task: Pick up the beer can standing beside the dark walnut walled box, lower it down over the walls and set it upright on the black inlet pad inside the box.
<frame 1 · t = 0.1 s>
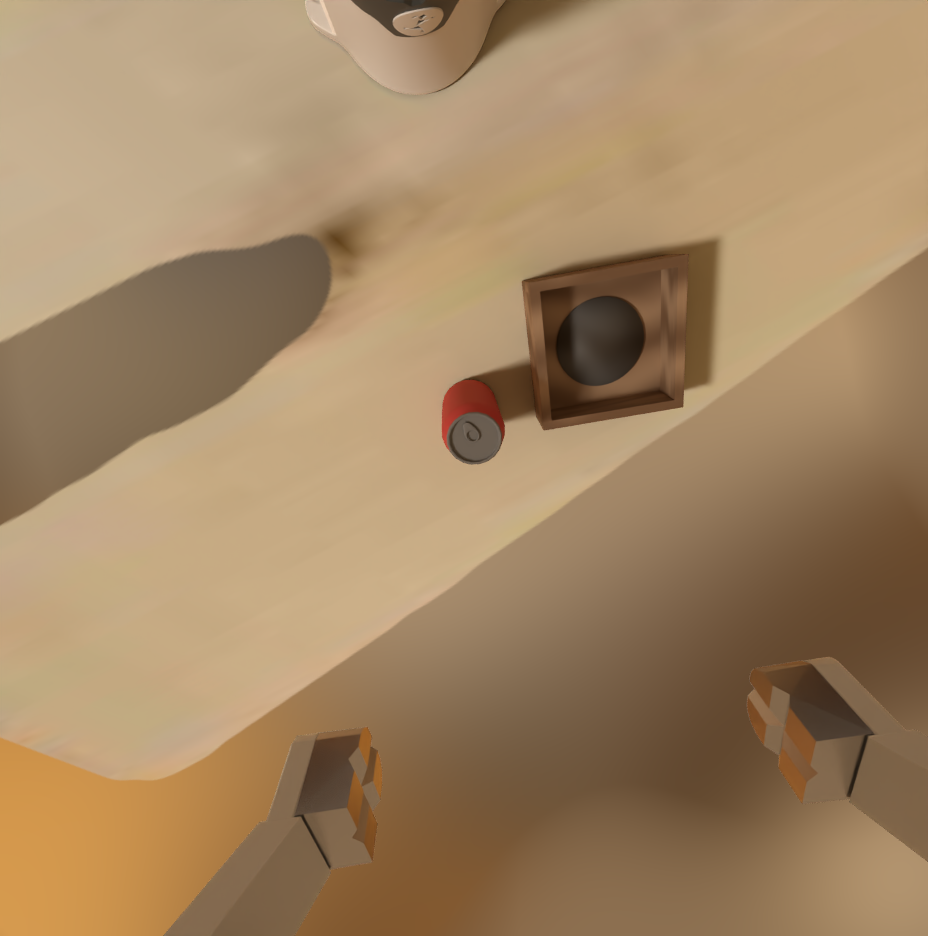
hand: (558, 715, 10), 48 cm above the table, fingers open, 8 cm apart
walnut box: (597, 341, 54), on the table
beer can: (469, 404, 57), on the table
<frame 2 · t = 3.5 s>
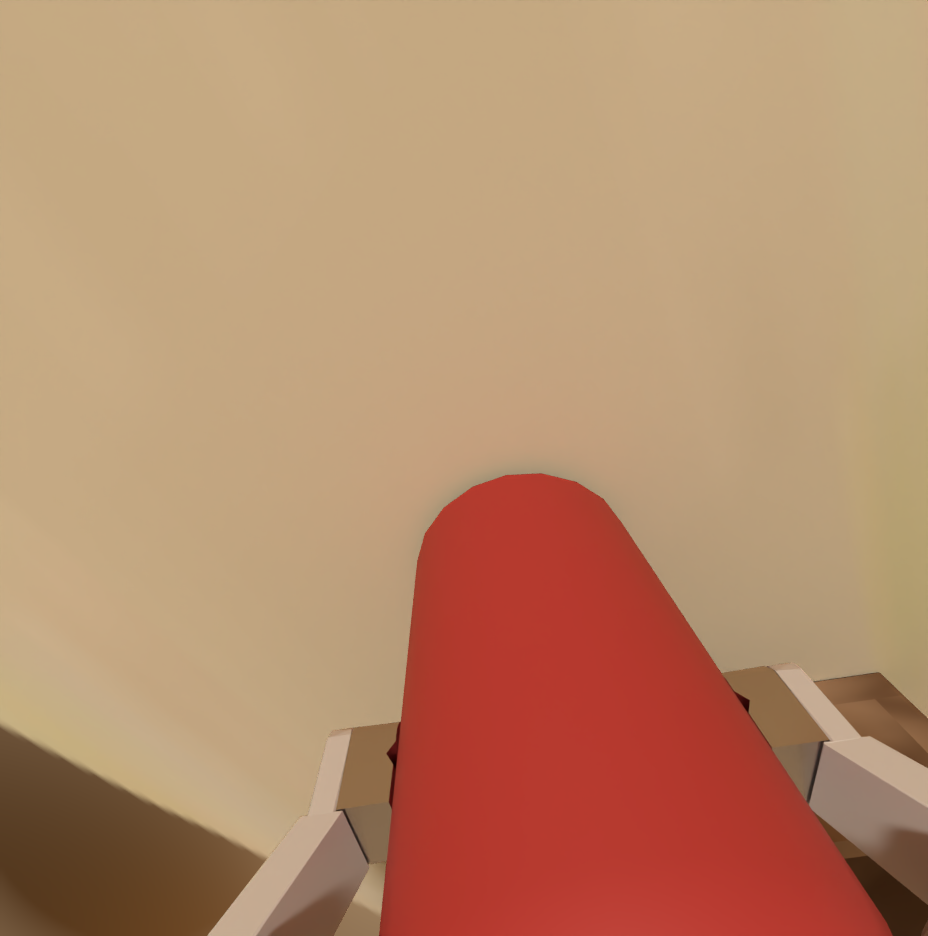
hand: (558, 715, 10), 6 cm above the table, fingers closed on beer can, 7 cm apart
walnut box: (668, 820, 21), on the table
beer can: (519, 553, 15), on the table, touching gripper
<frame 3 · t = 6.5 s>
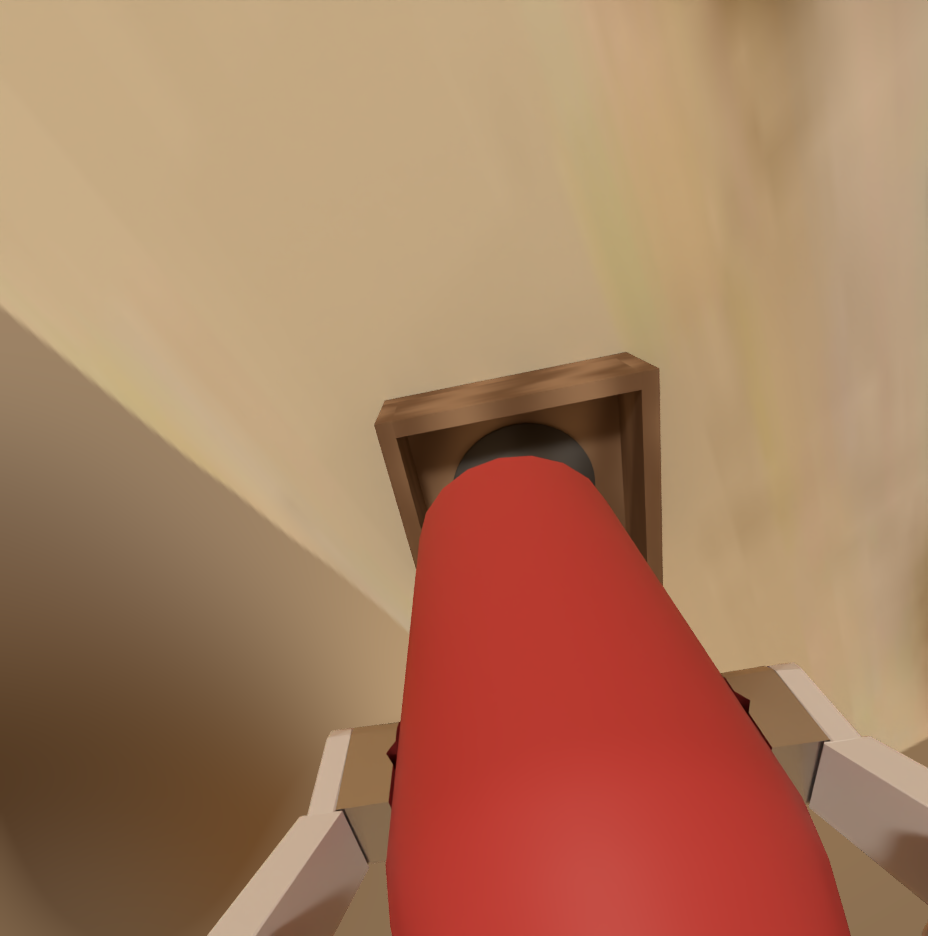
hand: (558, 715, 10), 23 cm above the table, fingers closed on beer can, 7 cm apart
walnut box: (521, 484, 33), on the table
beer can: (513, 531, 16), point 16 cm above the table, touching gripper
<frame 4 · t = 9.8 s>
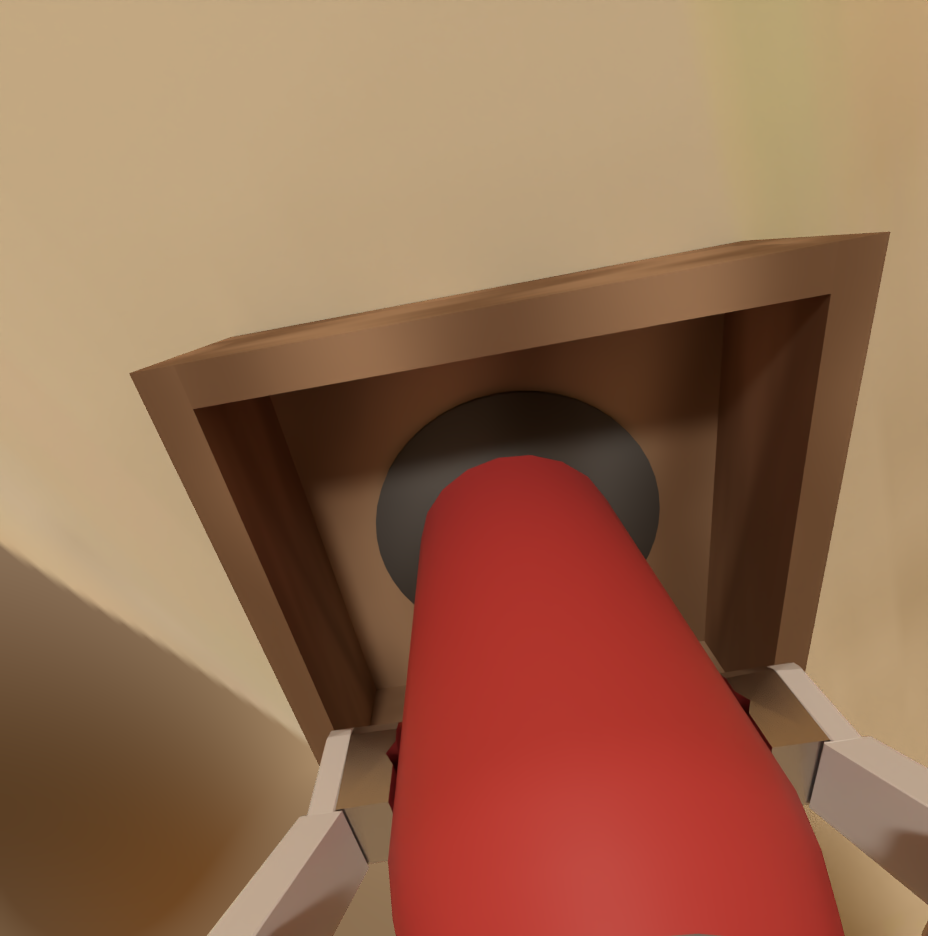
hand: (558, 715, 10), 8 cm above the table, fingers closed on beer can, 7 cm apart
walnut box: (513, 512, 17), on the table
beer can: (514, 530, 16), point 1 cm above the table, touching gripper, walnut box
when the fingers open (8 cm above the table, at t = 10.8 s): beer can stays where it is, resting on walnut box.
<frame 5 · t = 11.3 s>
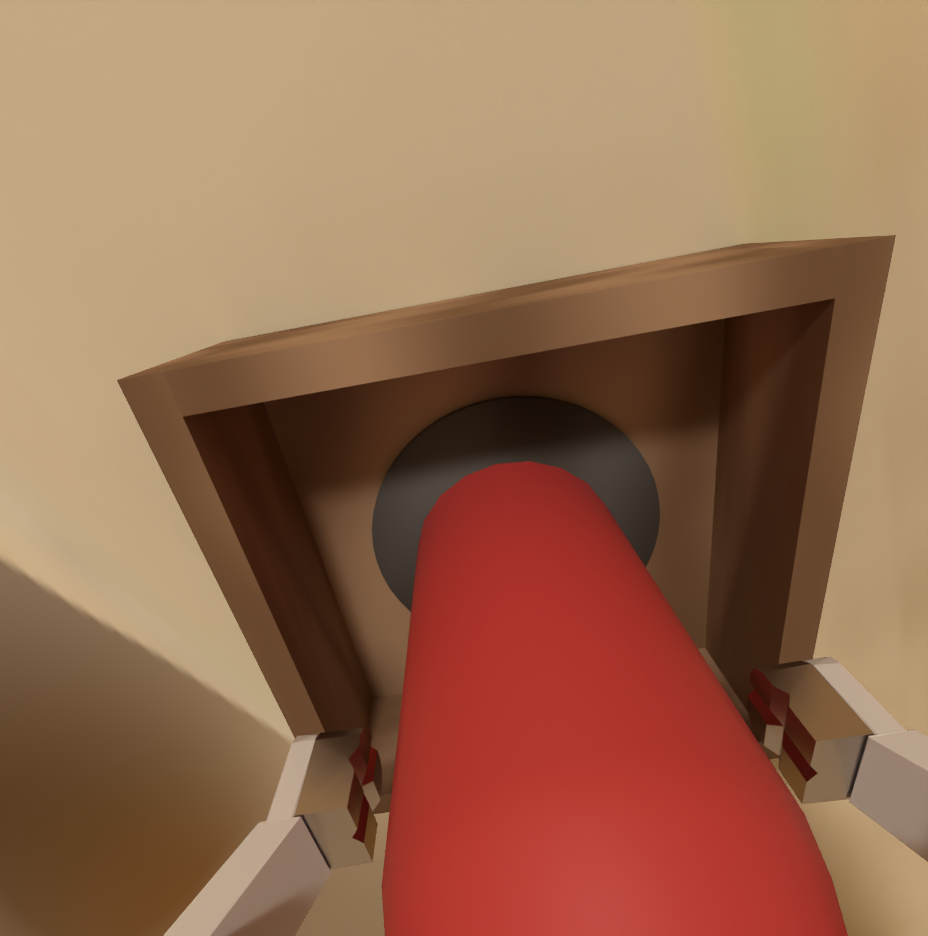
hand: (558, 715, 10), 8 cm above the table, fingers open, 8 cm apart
walnut box: (511, 518, 17), on the table
beer can: (512, 536, 16), point 1 cm above the table, touching walnut box
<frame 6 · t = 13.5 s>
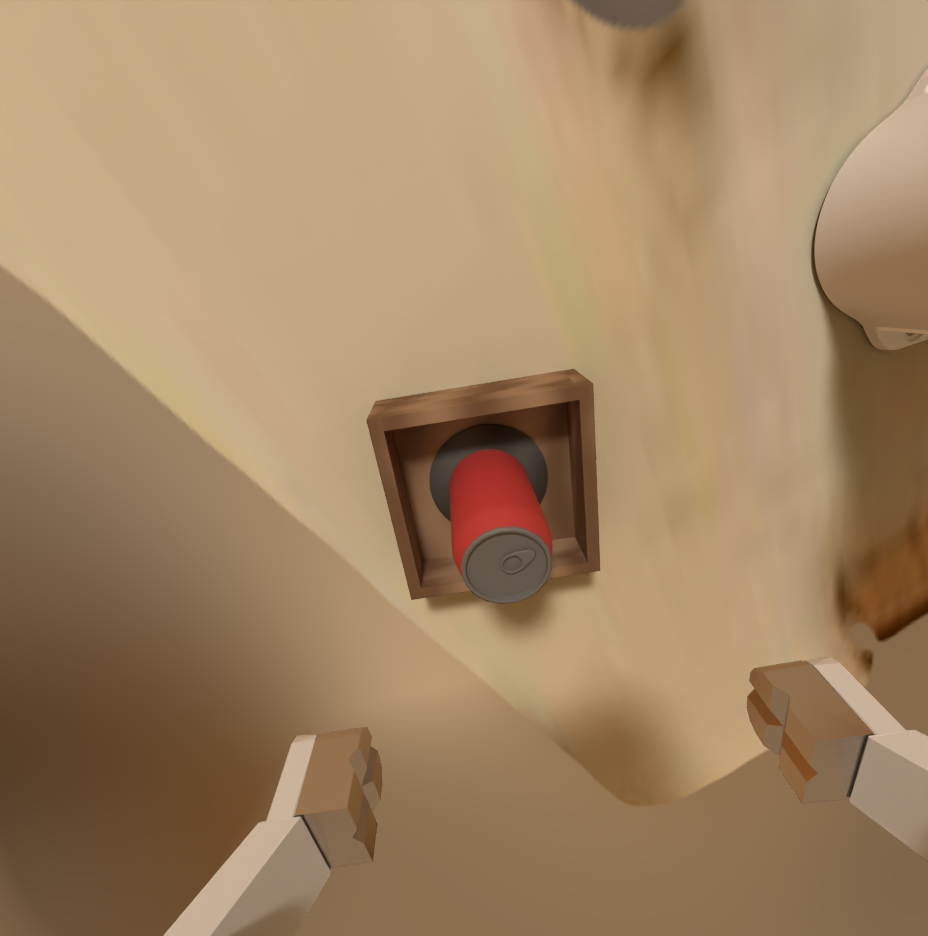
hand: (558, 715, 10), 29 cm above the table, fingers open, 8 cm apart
walnut box: (487, 475, 40), on the table
beer can: (487, 481, 39), point 1 cm above the table, touching walnut box
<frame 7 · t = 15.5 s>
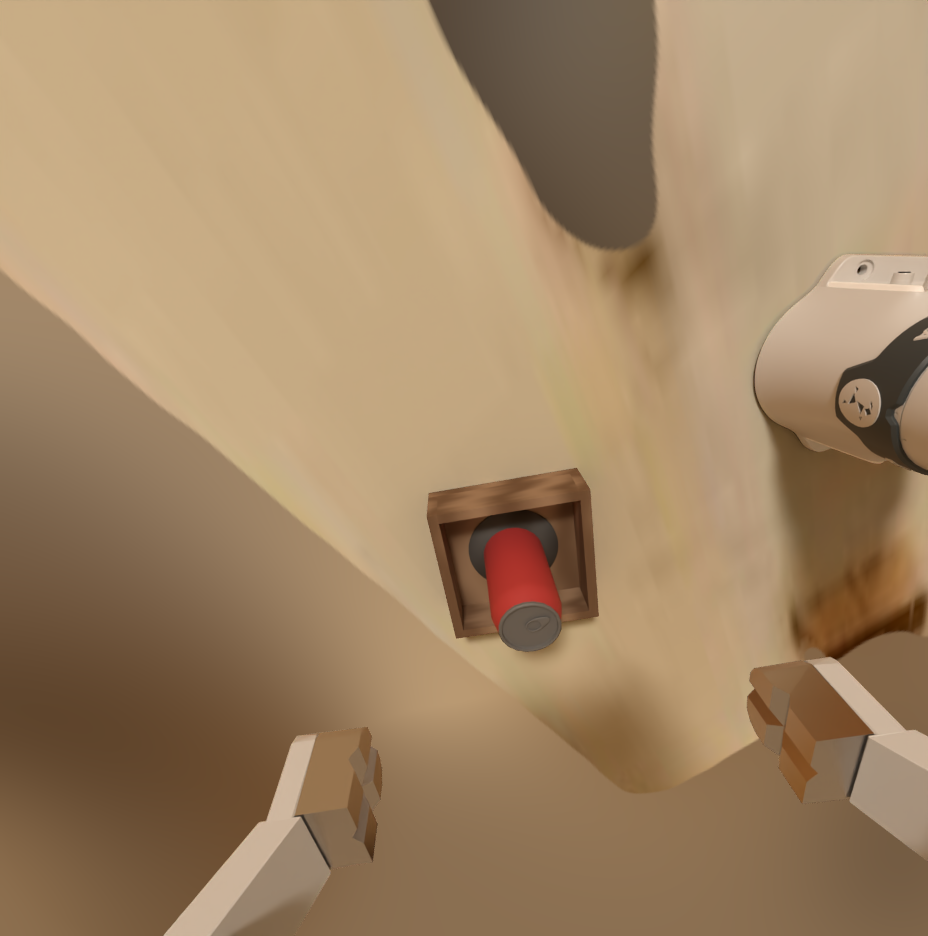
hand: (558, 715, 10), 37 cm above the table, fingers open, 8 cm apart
walnut box: (511, 542, 52), on the table
beer can: (512, 549, 51), point 1 cm above the table, touching walnut box
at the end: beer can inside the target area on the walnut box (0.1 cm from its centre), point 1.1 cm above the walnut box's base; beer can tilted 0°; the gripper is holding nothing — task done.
